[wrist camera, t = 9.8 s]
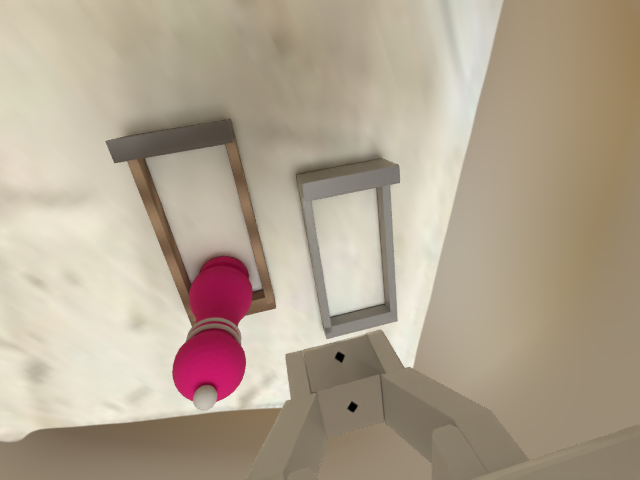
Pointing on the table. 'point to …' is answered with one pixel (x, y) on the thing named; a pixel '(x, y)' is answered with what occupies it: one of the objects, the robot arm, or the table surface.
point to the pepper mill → (214, 333)
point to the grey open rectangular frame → (381, 178)
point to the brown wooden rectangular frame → (134, 154)
